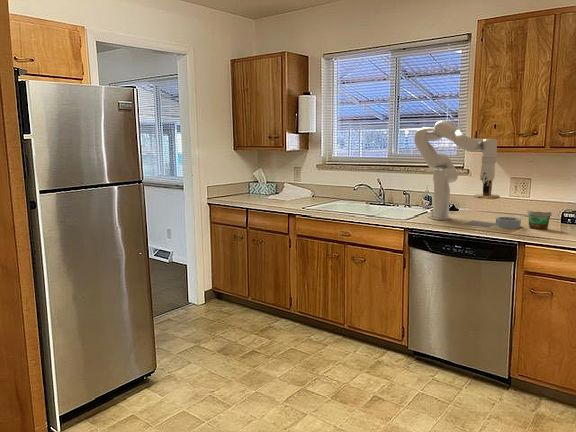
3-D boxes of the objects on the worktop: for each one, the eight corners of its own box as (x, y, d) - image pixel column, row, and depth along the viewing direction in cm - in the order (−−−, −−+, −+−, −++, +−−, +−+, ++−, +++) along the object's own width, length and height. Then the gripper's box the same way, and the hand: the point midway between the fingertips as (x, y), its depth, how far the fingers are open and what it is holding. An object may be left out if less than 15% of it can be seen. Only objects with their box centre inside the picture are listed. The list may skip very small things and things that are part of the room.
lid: (470, 197, 272) (471, 183, 271) (479, 195, 282) (480, 181, 281) (494, 199, 263) (495, 184, 262) (503, 197, 273) (503, 183, 272)
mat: (462, 225, 276) (462, 224, 276) (472, 221, 287) (472, 220, 287) (488, 228, 266) (488, 227, 266) (497, 224, 277) (497, 223, 277)
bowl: (493, 227, 269) (493, 218, 268) (500, 224, 278) (501, 216, 277) (515, 230, 261) (516, 221, 260) (522, 227, 270) (522, 218, 269)
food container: (524, 228, 265) (526, 211, 263) (526, 227, 270) (527, 209, 269) (549, 231, 258) (551, 213, 257) (550, 229, 263) (552, 211, 262)
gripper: (487, 159, 278) (485, 190, 281) (476, 161, 266) (474, 193, 269) (500, 160, 273) (498, 191, 275) (490, 161, 261) (488, 194, 264)
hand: (487, 192), depth 272 cm, fingers closed on lid, 3 cm apart
